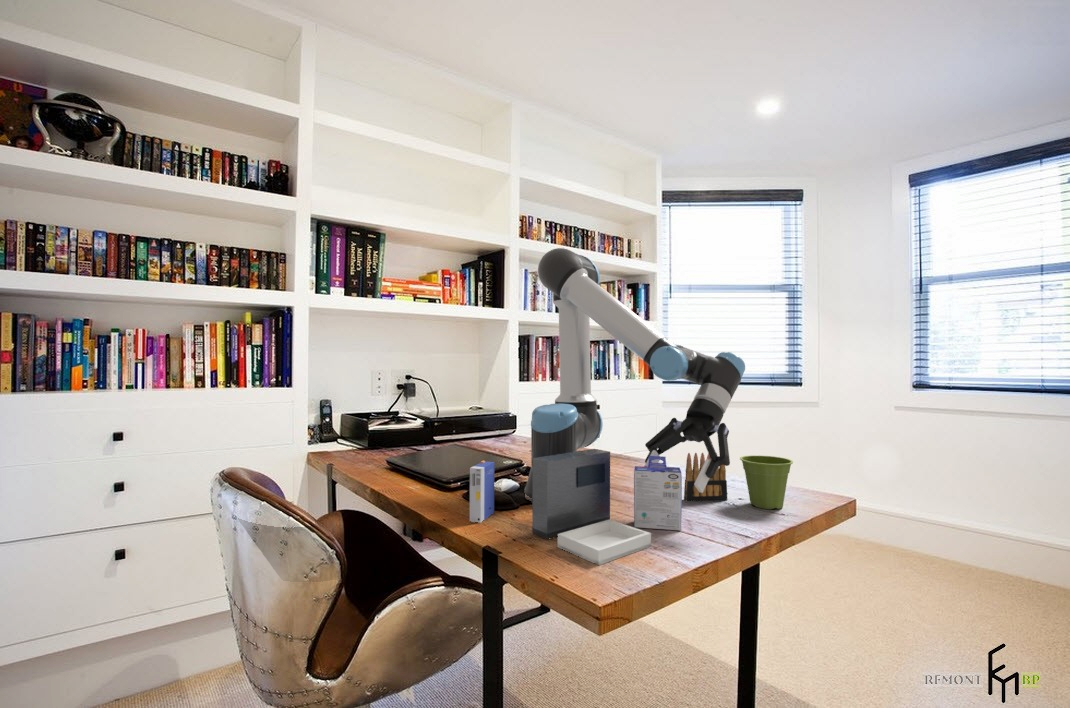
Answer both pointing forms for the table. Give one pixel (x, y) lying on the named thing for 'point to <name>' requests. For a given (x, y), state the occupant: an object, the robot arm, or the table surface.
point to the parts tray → (604, 541)
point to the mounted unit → (570, 491)
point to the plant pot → (766, 480)
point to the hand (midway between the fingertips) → (670, 482)
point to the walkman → (481, 491)
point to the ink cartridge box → (657, 496)
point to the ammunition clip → (715, 485)
